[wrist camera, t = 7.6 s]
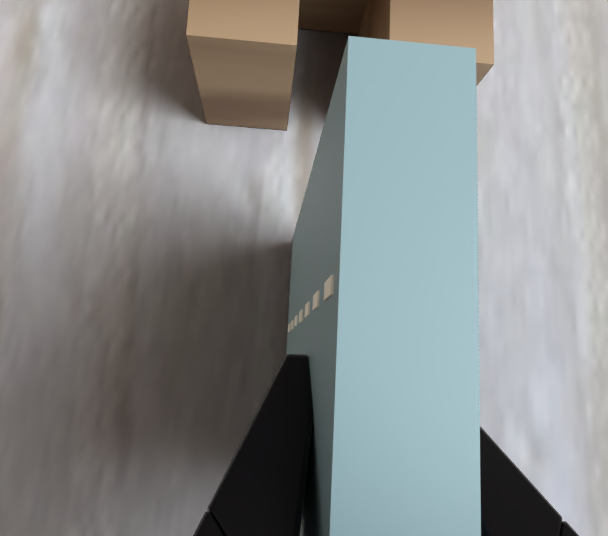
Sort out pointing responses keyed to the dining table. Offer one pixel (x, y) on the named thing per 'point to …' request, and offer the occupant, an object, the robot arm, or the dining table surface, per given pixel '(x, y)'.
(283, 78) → the clip block
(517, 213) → the dining table surface
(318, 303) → the pale blue slab box
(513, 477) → the robot arm
